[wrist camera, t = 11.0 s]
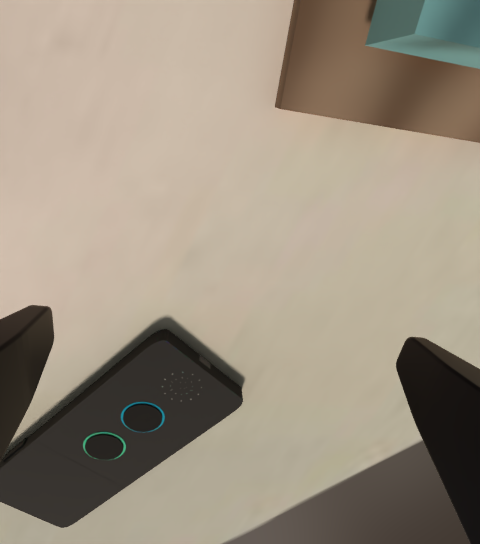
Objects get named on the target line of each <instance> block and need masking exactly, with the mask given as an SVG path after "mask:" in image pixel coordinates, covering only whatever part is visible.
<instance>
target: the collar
mask: <svg viewBox="0 0 480 544" xmlns="http://www.w3.org/2000/svg"><path fill="white" fill-rule="evenodd" d="M365 46H370V47H374V48H379V49H384V50H389V51H394V52H399V53H404V54H409V55H414V56H419V57H424V58H428V59H433V60H438V61H443V62H448V63H453V64H458V65H463V66H468V67H473V68H477V69H480V0H377V2H376V6H375V10H374V13H373V17H372V21H371V25H370V28H369V32H368V36H367V40H366V43H365Z"/></svg>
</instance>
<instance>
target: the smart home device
mask: <svg viewBox="0 0 480 544" xmlns="http://www.w3.org/2000/svg"><path fill="white" fill-rule="evenodd" d="M242 402H243V398H242V389H241V387H240V386H239V385H237V384H236V383H235V382H234V381H232V380H231V379H230V378H229V377H227V376H226V375H225V374H223V373H222V372H221V371H220V370H218V369H217V368H216V367H215V366H213V365H212V364H211V363H210V362H208V361H207V360H206V359H205V358H203V357H202V356H201V355H199V354H198V353H197V352H196V351H194V350H193V349H192V348H191V347H189V346H188V345H187V344H186V343H184V342H183V341H182V340H180V339H179V338H178V337H177V336H175V335H174V334H173V333H172V332H170V331H169V330H167V329H164V330H160V331H158V332H156V333H154V334H152V335H151V336H150V337H148V338H147V339H146V340H145V341H144V342H142V343H141V344H140V345H139V346H138V347H136V348H135V349H134V350H133V351H132V352H130V353H129V354H128V355H127V356H126V357H124V358H123V359H122V360H121V361H120V362H118V363H117V364H116V365H115V366H114V367H112V368H111V369H110V370H109V371H108V372H106V373H105V374H104V375H103V376H102V377H100V378H99V379H98V380H97V381H96V382H94V383H93V384H92V385H91V386H90V387H88V388H87V389H86V390H85V391H84V392H82V393H81V394H80V395H79V396H78V397H76V398H75V399H74V400H73V401H72V402H70V403H69V404H68V405H67V406H66V407H64V408H63V409H62V410H61V411H60V412H58V413H57V414H56V415H55V416H54V417H52V418H51V419H50V420H49V421H48V422H46V423H45V424H44V425H43V426H41V427H40V428H39V429H38V430H37V431H35V432H34V433H33V434H32V435H31V436H29V437H28V438H25V439H24V440H23V441H22V442H21V443H19V444H18V445H17V446H16V447H15V448H13V449H12V450H11V451H10V452H9V453H7V454H6V456H5V457H4V458H3V459H2V460H1V461H0V502H2V503H4V504H7V505H9V506H11V507H14V508H16V509H18V510H21V511H23V512H25V513H28V514H30V515H32V516H34V517H37V518H39V519H41V520H44V521H46V522H48V523H51V524H53V525H55V526H58V527H61V528H64V527H68V526H70V525H72V524H74V523H75V522H77V521H78V520H80V519H81V518H83V517H84V516H85V515H87V514H88V513H90V512H91V511H93V510H94V509H95V508H97V507H98V506H100V505H101V504H103V503H104V502H105V501H107V500H108V499H110V498H111V497H113V496H114V495H115V494H117V493H118V492H120V491H121V490H123V489H124V488H125V487H127V486H128V485H130V484H131V483H133V482H134V481H135V480H137V479H138V478H140V477H141V476H143V475H144V474H145V473H147V472H148V471H150V470H151V469H153V468H154V467H155V466H157V465H158V464H160V463H161V462H163V461H164V460H165V459H167V458H168V457H170V456H171V455H173V454H174V453H175V452H177V451H178V450H180V449H181V448H183V447H184V446H186V445H187V444H188V443H190V442H191V441H193V440H194V439H196V438H197V437H198V436H200V435H201V434H203V433H204V432H206V431H207V430H208V429H210V428H211V427H213V426H214V425H216V424H217V423H218V422H220V421H221V420H223V419H224V418H226V417H227V416H228V415H230V414H231V413H233V412H234V411H235V410H237V409H238V408H239V407H240V406H241V404H242Z"/></svg>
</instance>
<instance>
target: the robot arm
mask: <svg viewBox="0 0 480 544" xmlns="http://www.w3.org/2000/svg"><path fill="white" fill-rule="evenodd" d="M53 341H54V329H53V317H52V311H51V308H50V307H48V306H37V305H31V306H28V307H26V308H24V309H22V310H20V311H17V312H15V313H13V314H11V315H9V316H7V317H5V318H2V319H0V461H1V460H2V458H3V456H4V454H5V452H6V450H7V448H8V446H9V444H10V442H11V440H12V438H13V436H14V435H15V433H16V431H17V429H18V427H19V425H20V423H21V421H22V419H23V417H24V415H25V413H26V411H27V409H28V407H29V405H30V403H31V401H32V398H33V396H34V393H35V391H36V388H37V385H38V383H39V380H40V377H41V375H42V372H43V369H44V367H45V364H46V361H47V359H48V356H49V353H50V351H51V348H52V345H53ZM396 368H397V372H398V375H399V378H400V381H401V384H402V387H403V390H404V393H405V395H406V398H407V401H408V404H409V407H410V410H411V413H412V416H413V418H414V421H415V423H416V426H417V428H418V430H419V432H420V435H421V437H422V439H423V441H424V443H425V445H426V448H427V449H428V452H429V454H430V456H431V459H432V461H433V463H434V465H435V467H436V470H437V472H438V474H439V476H440V478H441V480H442V483H443V485H444V487H445V489H446V491H447V493H448V496H449V498H450V500H451V502H452V504H453V506H454V509H455V511H456V513H457V515H458V517H459V520H460V522H461V524H462V526H463V528H464V531H465V533H466V535H467V537H468V539H469V541H470V544H480V369H479V368H477V367H475V366H473V365H472V364H470V363H468V362H466V361H464V360H463V359H461V358H459V357H457V356H456V355H454V354H452V353H450V352H448V351H447V350H445V349H443V348H441V347H440V346H438V345H436V344H434V343H433V342H431V341H429V340H427V339H425V338H420V337H409V338H407V339H406V341H405V343H404V345H403V347H402V350H401V352H400V354H399V357H398V359H397V362H396Z"/></svg>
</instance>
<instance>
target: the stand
mask: <svg viewBox="0 0 480 544" xmlns="http://www.w3.org/2000/svg"><path fill="white" fill-rule="evenodd" d="M376 2H377V0H294V5H293V10H292V16H291V21H290V27H289V32H288V38H287V43H286V49H285V54H284V60H283V65H282V71H281V76H280V82H279V87H278V93H277V98H276V104H275V107H277V108H279V109H284V110H290V111H296V112H302V113H308V114H314V115H319V116H325V117H331V118H337V119H343V120H349V121H355V122H361V123H367V124H373V125H378V126H384V127H390V128H396V129H402V130H408V131H414V132H420V133H426V134H432V135H437V136H443V137H449V138H455V139H461V140H467V141H473V142H479V143H480V69H477V68H473V67H468V66H463V65H458V64H453V63H448V62H443V61H438V60H433V59H428V58H424V57H419V56H414V55H409V54H404V53H399V52H394V51H389V50H384V49H379V48H374V47H370V46H365V43H366V40H367V36H368V32H369V28H370V25H371V21H372V17H373V13H374V10H375V6H376Z"/></svg>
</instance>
